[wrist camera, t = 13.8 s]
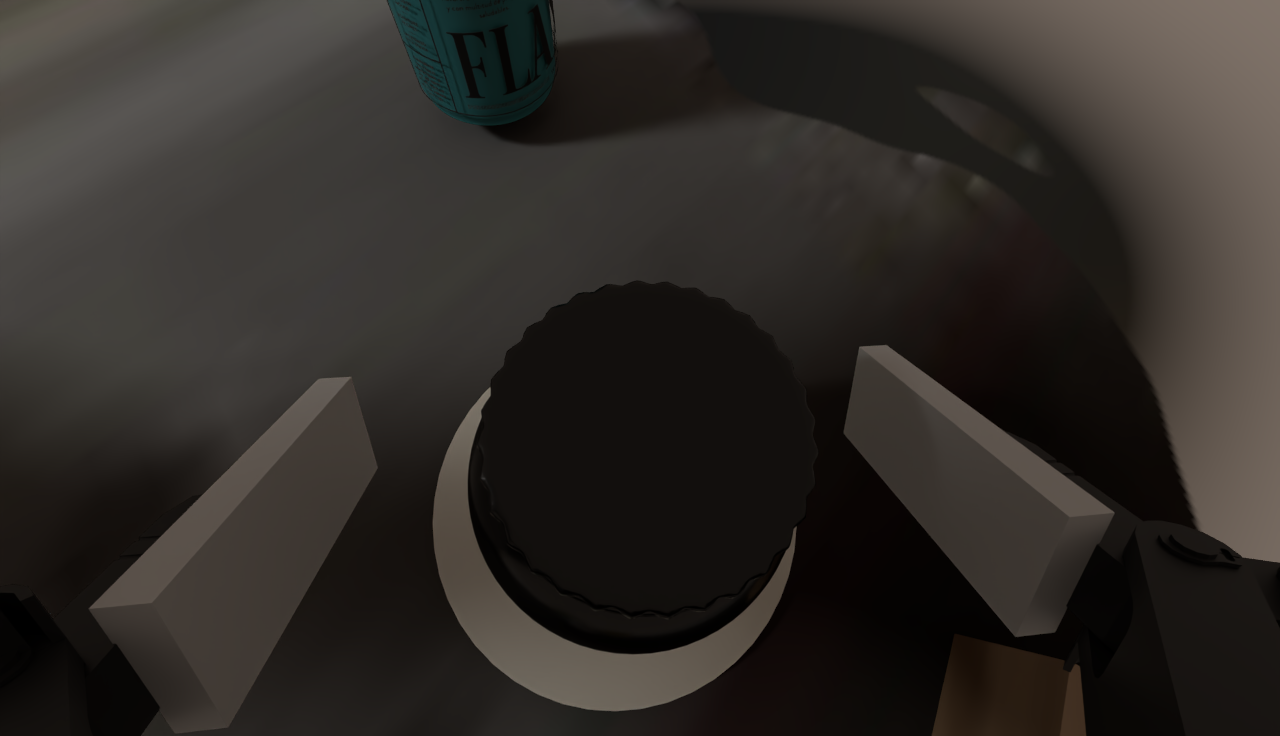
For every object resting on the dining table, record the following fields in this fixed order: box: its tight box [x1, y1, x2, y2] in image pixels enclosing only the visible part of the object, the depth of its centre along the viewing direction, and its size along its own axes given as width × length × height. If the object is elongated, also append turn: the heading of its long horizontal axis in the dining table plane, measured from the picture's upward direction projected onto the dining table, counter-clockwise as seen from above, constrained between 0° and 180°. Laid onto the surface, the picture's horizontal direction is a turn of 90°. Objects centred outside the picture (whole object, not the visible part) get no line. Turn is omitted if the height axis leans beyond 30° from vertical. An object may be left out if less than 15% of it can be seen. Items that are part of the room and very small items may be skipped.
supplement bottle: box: [467, 281, 819, 655], centre depth 13 cm, size 7×7×12 cm
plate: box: [433, 388, 797, 711], centre depth 19 cm, size 13×13×1 cm
